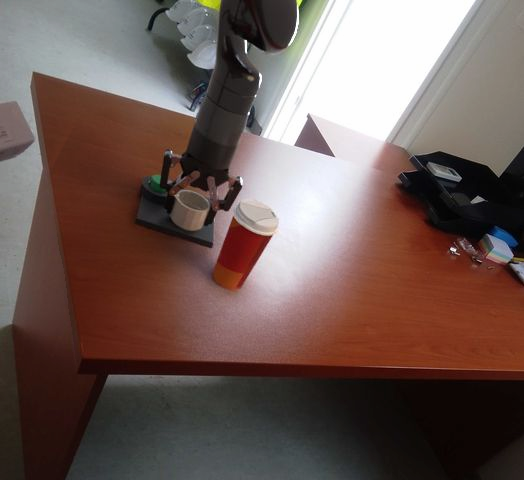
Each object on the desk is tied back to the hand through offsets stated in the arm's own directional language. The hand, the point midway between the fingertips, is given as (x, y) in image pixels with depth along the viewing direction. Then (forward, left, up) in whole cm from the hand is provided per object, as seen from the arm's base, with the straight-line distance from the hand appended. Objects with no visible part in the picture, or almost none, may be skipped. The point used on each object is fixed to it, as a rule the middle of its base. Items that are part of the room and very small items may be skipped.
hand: (187, 217), depth 83 cm
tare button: (-6, +6, +1) cm, 8 cm away
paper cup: (+8, -11, -2) cm, 14 cm away
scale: (-2, +4, -2) cm, 4 cm away
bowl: (0, 0, -1) cm, 1 cm away
